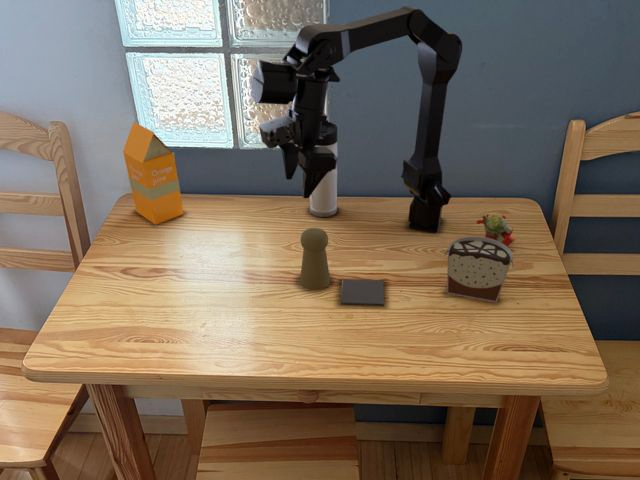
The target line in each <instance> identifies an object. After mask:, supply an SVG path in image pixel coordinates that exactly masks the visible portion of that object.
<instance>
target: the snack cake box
mask: <svg viewBox="0 0 640 480" xmlns="http://www.w3.org/2000/svg"><path fill="white" fill-rule="evenodd" d="M446 255H447V270H446V271H447V274H446V294H447V295H452V296H458V297H464V298H469V299H475V300H480V301H484V302H490V303H495V304H497V302H498V300H499V297H500V294H501V292H502V289H503V286H504V283H505V281H506V277H507V275H508V272H509V270H510V266H511V267H512V269H513V268H514V255H513V252H512V251H511V249H510V248H509V247H508V246H506V245H504V244H503V243H501V242H499V241H496V240H493V239H490V238H485V236H464V237H460V238H457V239H455V240H453V241H452V242H451V243H450V244H449V245H448V247H447V249H446V250H445V253H444V257H446Z"/></svg>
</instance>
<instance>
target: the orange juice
mask: <svg viewBox="0 0 640 480" xmlns="http://www.w3.org/2000/svg"><path fill="white" fill-rule="evenodd" d="M122 153H123V157H124V160H125V166H126V170H127V175H128V181H129V185H130V190H131V194H132V198H133V203H134V206H135V211H136V213H138V214H139V215H140V216H142V217H144V218H145V219H147V220H148V221H149V222H151V223H153V225H158V224H161V223H163V222H167V221H169V220H171V219H174V218H178V217H180V216H182V215H184V214H185V213H184V207H183V200H182V194H181V188H180V181H179V177H178V171H177V164H176V159H175V153H174V152H173V151H171V149H170V148H169V147H168V146H167V145H166V144H165V143H164V142H163V141H162V139H160V138H159V137H158V136H157V135H156V133H155V132H154V131H153V130H151V129H149V128H147V127H144V126H143V125H142V124H141V125H140V124H139V123H137V122H135V121H133V122H132V124H131V127H130V131H129V132H128V136H127V139H126V141H125V145H124V147H123V150H122Z"/></svg>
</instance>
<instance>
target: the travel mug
mask: <svg viewBox="0 0 640 480" xmlns="http://www.w3.org/2000/svg"><path fill="white" fill-rule="evenodd" d="M320 136H321V137H322V138H323V139H324V140H323V144H316V147H327V148H328V149H330V150H331V151H332V152H333V153H334V154H335V155H336V157H337V158H338V126H337V125H336V123H333V122H329V120H328V119H327V121H326V122H322V126H321V132H320ZM337 211H338V164H337V165H336V169H335V170H332V171H331V172H328V173H327V174H326V175H325V177H324V178H323V179H322V180H321V182H320V183H319V184H318V186H317V187H316V188H315V190H314V191H313V193H312V194H311V196H310V197H309V212H310V213H311V215H314V216H315V217H320V218H326V217H331V216H333V215H335V214H336V213H337Z"/></svg>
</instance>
